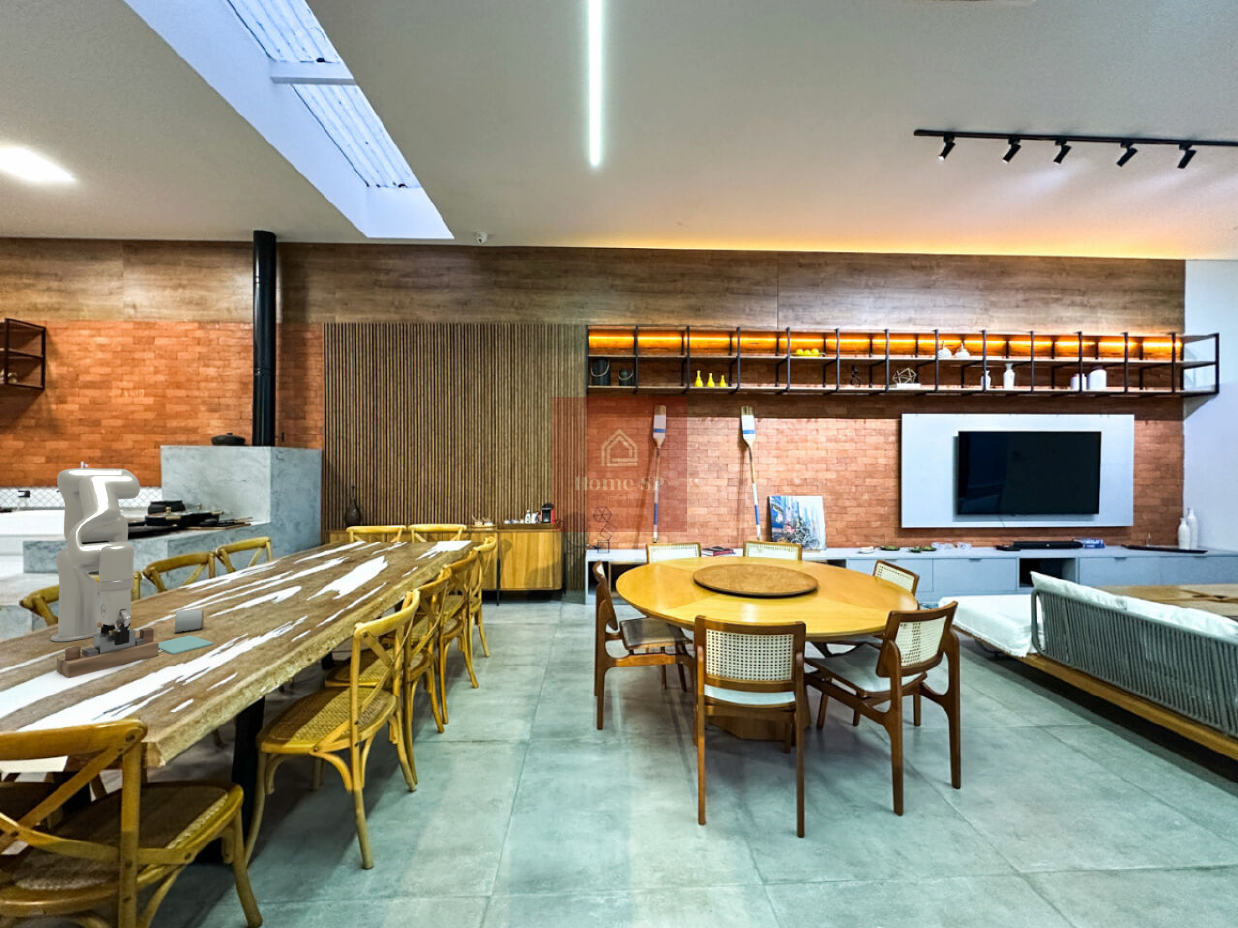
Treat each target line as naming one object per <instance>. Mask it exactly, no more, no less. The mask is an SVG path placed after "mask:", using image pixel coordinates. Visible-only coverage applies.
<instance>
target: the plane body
mask: <svg viewBox="0 0 1238 928" xmlns="http://www.w3.org/2000/svg"><path fill="white" fill-rule="evenodd" d="M154 630H155V629H154V628H152V627H146V628H145V627H144V628H141V629H139V636H135V647H131V648H127V649H123V650H118V651H114V652H110V653H105V654H101V655H99V654H98V650H97V649H94V648H93V646H91V647H90V646H89V647H86V648H81V647H82V646H72V647H68V648H65V652H64V653H65V654H64V656H60V657H56V673H58V674H60V675H62V676H64V677H66V678H68V679H71V678H75V677H78V676H83V675H86V674H90V673H94V672H99V671H102V670H105V669H110V668H114V667H117V666H121V665H126V664H130V663H133V662H138V661H141V660H146V659H149V658H148V657H150V658H154V657H157V656H156V655H158V656H159V649H158V646H159V642H157V641H154V634H155V633H154V632H155V631H154ZM153 656H154V657H153Z"/></svg>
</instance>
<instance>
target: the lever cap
mask: <svg viewBox="0 0 1238 928" xmlns="http://www.w3.org/2000/svg"><path fill="white" fill-rule="evenodd" d="M115 632H117V631H116V629H114V630H109V632H106V633H101V634H96V635H93V637H92V638H93V640H92V643H93V644H92V648H94V649H97V650H98V654H99V655H101V654H105V653H110V652H114V651H118V650H123V649H127V648H131V647H135V637H136V629H133V628H130V633H129V643H126V644H121V645H115V644H114V642H115Z"/></svg>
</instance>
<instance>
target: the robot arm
mask: <svg viewBox="0 0 1238 928" xmlns="http://www.w3.org/2000/svg"><path fill="white" fill-rule="evenodd" d="M56 481H57V482H56V483H57V488H58V491H59V492H60V495H61V497H62V499H63V503H64V514H63V515H64V517H63V535H64V539H65V540H66V547H65V548H63V549H61V550H60V551H59V552H57V554H56V557H55V562H56V563H55V564H56V568H57V573H58V616H57V617H58V618H57V620H58V621H57V633H54V634H53V635H51V637H50V641H53V642H71V641H78V640H84V639H88V638H89V639H90V638H93V635H96V634H101V633H106V632H109V630H114V629H116V631H117V632H115V642H114V644H115V645H121V644H126V643H129V633H130V629H131V617H132V597H131V590H132V589H134V569H135V568H134V561H135V560H134V557H135V548H134V547H135V546H133V545H132V544H131V543H130V542H128V540H129V539H128V538H129V537H128V535H129V525H128V521H127V518H126V516H124V515H123V514H122V513H121V508H120V503H119V500H130V499H131V500H133V499H135V498H137V497H138V496H139V494H140V491H141V486H140V482H139V479H138V477H137V476H136V475H134V473H132V472H131V471H129V470H127V469H125V468H97V467H96V468H94V467H93V468H92V467H90V468H89V467H87V468H85V467H84V468H83V467H78V468H77V467H75V468H68V469H63V470H61V471H59V473H58V474H57V477H56ZM102 541H107V542H102ZM88 542H89V543H88ZM90 542H96V543H90ZM97 542H98V543H97ZM83 543H84V544H83ZM85 543H86V544H85ZM93 572H98V581H97V580H96V579H95V578H94V577H93V576H91V575H90V573H93ZM98 623H100V626H98Z"/></svg>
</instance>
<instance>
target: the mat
mask: <svg viewBox="0 0 1238 928" xmlns="http://www.w3.org/2000/svg"><path fill="white" fill-rule="evenodd" d="M158 643H159V646H158V650H159V649H161V650H163V651H162V652H164V651H166V652H165V653H167V652H168V653H167V654H169V653H170V655H172V654H173V656H175V655H178V654H177V653H179V654H182V653H181V652H183V653H186V652H185V651H187V652H190V651H189V650H191V651H194V650H193V649H195V650H199V649H202V648H205V647H210V646H213V644H214V642H213V641H209V640H206V639H203V638H200V637H197V636H193V635H186V636H181V637H177V638H173V639H168V640H163V641H160V642H158ZM161 650H160V651H161ZM174 654H175V655H174Z"/></svg>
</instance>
